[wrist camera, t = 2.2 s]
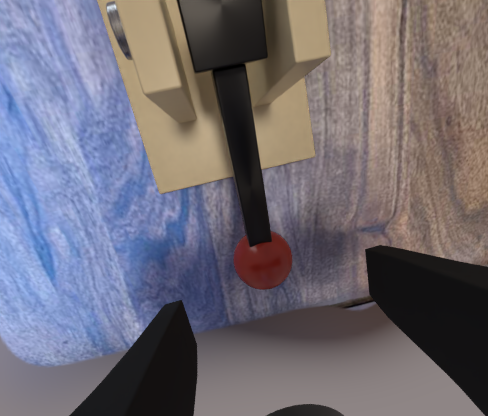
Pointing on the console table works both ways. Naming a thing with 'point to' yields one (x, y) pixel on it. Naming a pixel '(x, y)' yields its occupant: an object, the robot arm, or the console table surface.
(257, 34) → the lever
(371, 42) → the console table surface
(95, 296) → the console table surface
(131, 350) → the robot arm
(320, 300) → the console table surface
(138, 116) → the bracket
